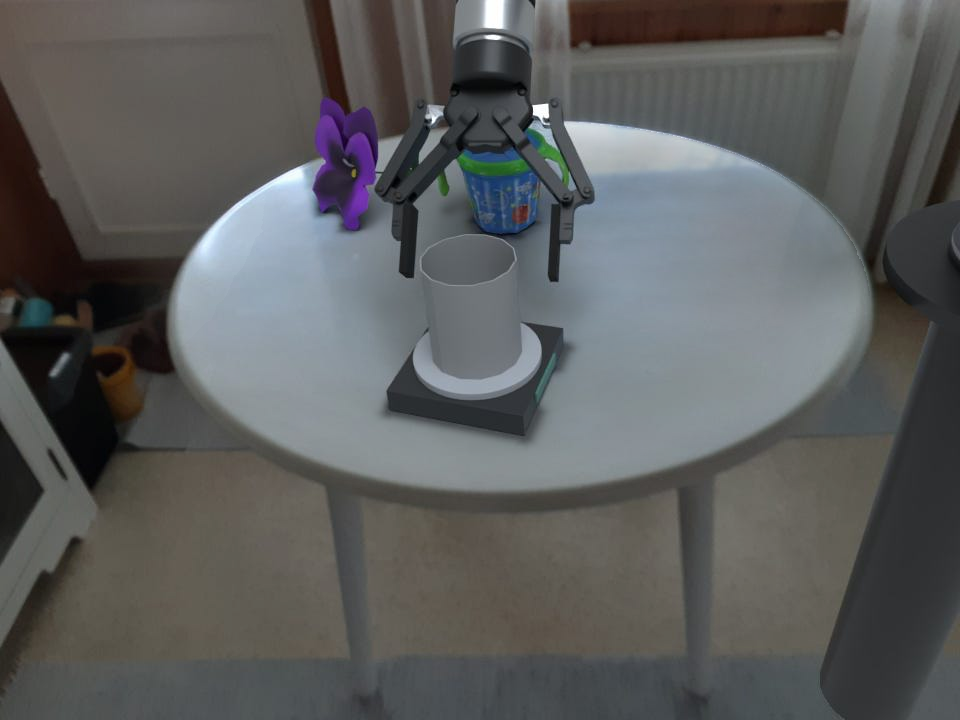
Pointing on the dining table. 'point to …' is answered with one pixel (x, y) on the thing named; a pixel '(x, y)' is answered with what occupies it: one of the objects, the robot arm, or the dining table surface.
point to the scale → (479, 385)
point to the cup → (472, 305)
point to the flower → (346, 160)
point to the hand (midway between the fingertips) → (478, 277)
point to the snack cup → (504, 186)
